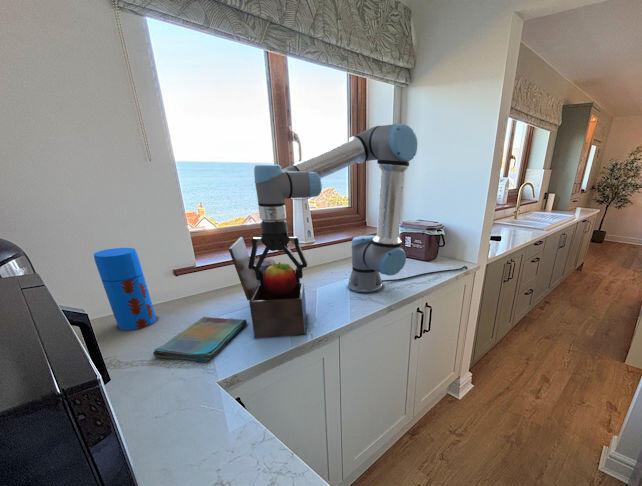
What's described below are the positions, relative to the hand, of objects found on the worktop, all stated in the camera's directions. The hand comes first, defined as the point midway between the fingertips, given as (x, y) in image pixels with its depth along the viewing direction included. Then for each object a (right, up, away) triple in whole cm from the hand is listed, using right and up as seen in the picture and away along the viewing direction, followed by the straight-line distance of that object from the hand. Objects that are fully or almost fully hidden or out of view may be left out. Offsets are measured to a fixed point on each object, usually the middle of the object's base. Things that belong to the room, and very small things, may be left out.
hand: (281, 288), depth 106 cm
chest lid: (-9, +6, -5) cm, 12 cm away
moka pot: (-14, -5, +22) cm, 26 cm away
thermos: (-51, -12, +5) cm, 53 cm away
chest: (-1, -13, +5) cm, 14 cm away
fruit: (0, -1, +1) cm, 2 cm away
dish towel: (-23, -17, -4) cm, 29 cm away
